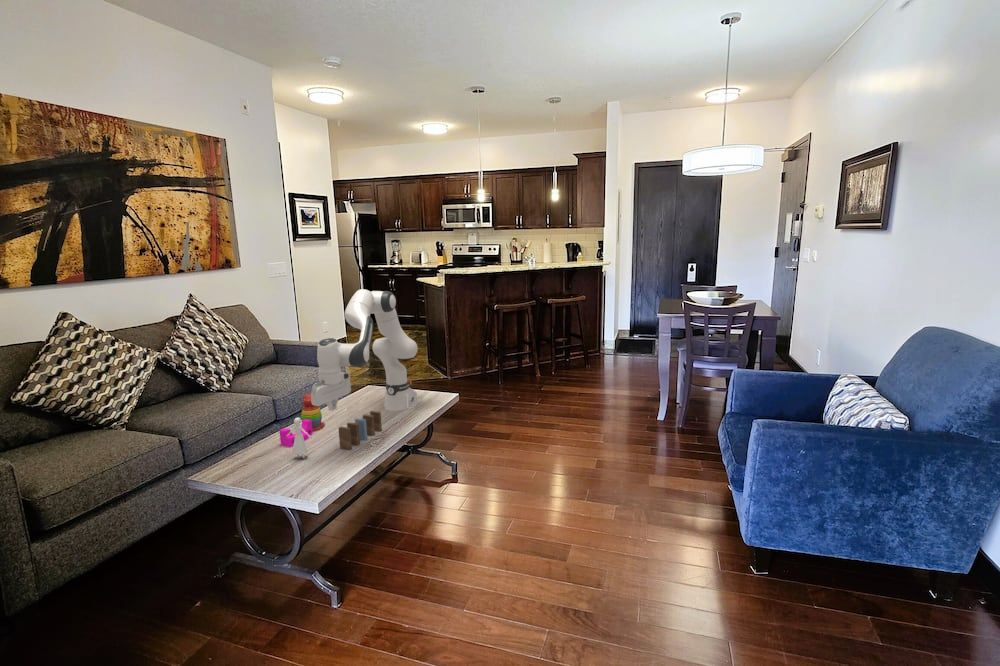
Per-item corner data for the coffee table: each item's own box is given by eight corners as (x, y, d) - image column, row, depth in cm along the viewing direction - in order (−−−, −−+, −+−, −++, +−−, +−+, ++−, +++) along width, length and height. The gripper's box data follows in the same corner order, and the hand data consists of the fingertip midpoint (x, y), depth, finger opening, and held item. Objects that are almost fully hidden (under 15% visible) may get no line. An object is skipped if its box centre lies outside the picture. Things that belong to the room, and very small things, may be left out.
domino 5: (373, 430, 231) (372, 410, 229) (381, 431, 229) (380, 411, 227) (371, 431, 229) (370, 411, 228) (379, 432, 227) (378, 413, 226)
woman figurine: (316, 456, 202) (313, 416, 199) (310, 461, 198) (306, 420, 195) (292, 454, 204) (288, 415, 201) (285, 459, 200) (281, 418, 197)
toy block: (290, 448, 212) (289, 432, 211) (280, 445, 215) (279, 430, 213) (316, 436, 225) (315, 421, 224) (307, 434, 228) (305, 419, 227)
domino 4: (366, 434, 226) (364, 414, 224) (374, 435, 224) (373, 415, 222) (364, 435, 224) (362, 415, 223) (372, 437, 222) (371, 416, 221)
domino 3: (358, 438, 221) (357, 418, 219) (367, 440, 219) (366, 419, 217) (356, 440, 219) (354, 419, 218) (365, 441, 217) (363, 420, 216)
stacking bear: (325, 424, 240) (322, 390, 237) (323, 431, 230) (320, 396, 227) (302, 426, 237) (299, 392, 234) (299, 434, 228) (296, 398, 225)
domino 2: (350, 443, 216) (349, 422, 214) (359, 444, 214) (358, 423, 212) (348, 444, 214) (346, 423, 213) (357, 446, 212) (356, 424, 211)
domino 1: (342, 447, 211) (341, 426, 209) (351, 449, 209) (350, 428, 207) (340, 449, 209) (338, 427, 208) (349, 451, 207) (347, 429, 206)
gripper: (318, 385, 187) (320, 418, 189) (352, 372, 206) (354, 403, 208) (305, 383, 189) (308, 416, 192) (340, 371, 208) (343, 401, 210)
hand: (332, 409), depth 200 cm, fingers closed
